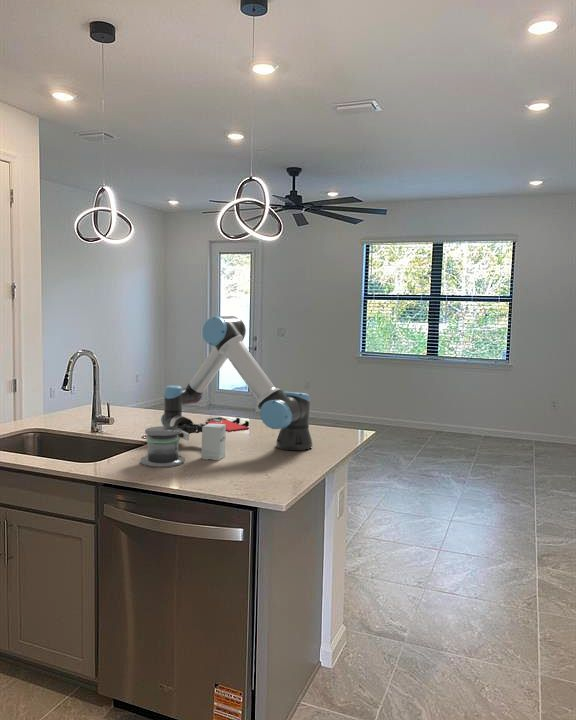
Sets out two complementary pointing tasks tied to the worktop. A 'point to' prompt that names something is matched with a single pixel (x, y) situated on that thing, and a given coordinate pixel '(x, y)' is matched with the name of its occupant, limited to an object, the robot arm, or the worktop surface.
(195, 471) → the worktop surface
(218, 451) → the supplement box
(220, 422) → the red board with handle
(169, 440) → the grey round canister
